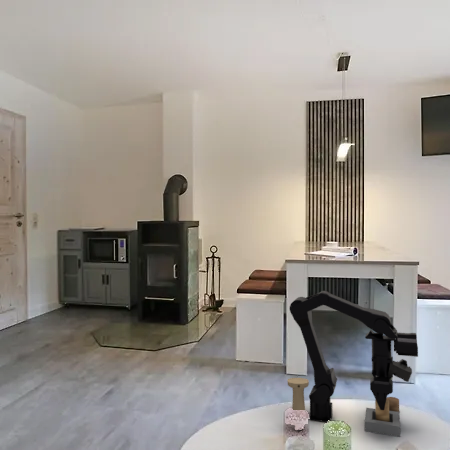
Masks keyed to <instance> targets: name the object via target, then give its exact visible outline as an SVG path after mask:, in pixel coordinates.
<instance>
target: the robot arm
mask: <svg viewBox="0 0 450 450" xmlns="http://www.w3.org/2000/svg"><path fill="white" fill-rule="evenodd" d="M322 306H326V307H328V308H331V309H332V310H335V311H337V312H339V313H342V314H343V315H346V316H349V317H351V318H353V319H355V320H358V322H361V324H363V325H364V326H365V327H367V328H368V329H370V330H369V331H368V332H367V333H365V336H364V339H365V340H371V375H372V378H370V383H369V389H370V391H371V393H372V394H373V396H374V400H375V399H376V401H377V403H378V406H379V408H380V410H384V409H385V404H386V399H387V397H388V396H389V395H391V394H392V393H394V384H393V383H394V382H393V380H392V378H394V376H395V377H396V378H399V379H401V380H403V381H404V382H407V383H408V382H409V381H410V380H411V377H412V374H413V369H412V367H411V366H409V365H408V361H407V360H405V359H404V358H402V359H400V360H399V361H395V360H394V358H393V356H392V355H393V354H392V341H393V352H395V354H397V356H403V357H413V358H414V357H415V358H417V357H419V346H418V340H417V339H418V337H417V333H416V332H398V330H397V328H396V327H395V325H393V323H392V320H391V319H392V318H391V317H390V315H389V313H387V312H386V311H383V310H379V309H376V308H369V307H364V306H360V305H358V304H356V303H354V302H352V301H349V300H347V299H344V298H342V297H340V296H337V295H335V294H332V293H330V292H329V291H327V290H321V291H320V292H317V293H316V294H315V293H314V294H312V295H310V296H307V297H304V296H298V297H297V298H295V299H294V300H293V301H292V302H291V303H290V305H289V311H290V312H289V313H290V315H291V316H292V317H293V320H294V321H295V323H296V324H297V326H298V328H299V329H300V332H301V335H302V337H303V340H304V343H305V344H304V345H305V346H306V349H307V353H308V356H309V359H310V362H311V366H312V369H313V380H314V385H313V386H312V388H311V391H310V393H309V395H308V398H309V416H310V419H309V421H316V422H323V423H328V422H327V421H328V420H330V421H331V419H333V412H334V411H333V402H332V401H331V397H332V396H333V395H334V392H335V390H336V387H337V383H338V382H337V381H338V377H337V376H336V374H335V369H334V367H331V368H329V366H328V365H327V363H326V360H325V358H324V355H323V351H322V348H321V346H320V342H319V339H318V335H317V333H316V331H315V327H314V324H313V313H312V312H313V310H315V309H317V308H319V307H322Z"/></svg>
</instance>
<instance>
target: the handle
mask: <svg viewBox="0 0 450 450" xmlns="http://www.w3.org/2000/svg"><path fill="white" fill-rule="evenodd" d="M309 385H310V382H309V379H307V378H304V377H291V378H287V386H288V387H290V388H292V403H291V404H292V405H291V407H292V408H291V410H292V409H293V410H305V411H306V404H305V389H306V388H308V387H309Z"/></svg>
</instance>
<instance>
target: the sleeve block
mask: <svg viewBox="0 0 450 450" xmlns="http://www.w3.org/2000/svg"><path fill="white" fill-rule="evenodd" d="M364 432H365V433H367V432H368V433H374V434H380V435H386V436H393V437H397V438H398V437H399V438H400V437H401V416H400V411H399V412H395V411H389V422H386V421H379V420H376V411H375V408H371V407H365V414H364Z"/></svg>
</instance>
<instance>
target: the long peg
mask: <svg viewBox="0 0 450 450" xmlns="http://www.w3.org/2000/svg"><path fill="white" fill-rule="evenodd" d="M374 401H375V402H374V404H375V405H374V407H375V408H374V409H375V411H376V420H379V421H386V422H389V400H387V399H386V404H385V409H384V410H380V408H379V406H378V403H377V401H376V399H375V398H374Z"/></svg>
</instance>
